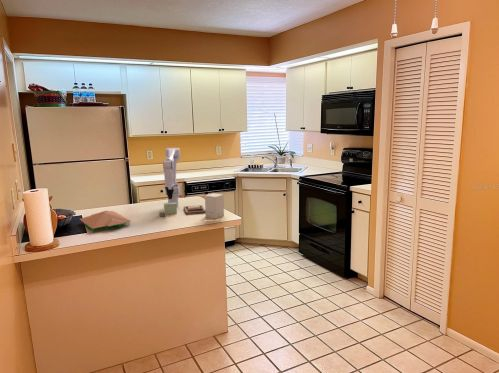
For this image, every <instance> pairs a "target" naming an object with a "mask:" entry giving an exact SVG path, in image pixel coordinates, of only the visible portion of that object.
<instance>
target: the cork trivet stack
mask: <svg viewBox="0 0 499 373" xmlns="http://www.w3.org/2000/svg"><path fill="white" fill-rule="evenodd" d="M190 206H191V207H187V209H196V208H201V207H200V206H198V205H190Z"/></svg>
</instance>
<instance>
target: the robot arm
mask: <svg viewBox="0 0 499 373" xmlns="http://www.w3.org/2000/svg"><path fill="white" fill-rule="evenodd" d="M180 156H181V150H180V147H166V148H165V159H164V160H163V161H162V168H163V173H164V189H165V190H164V192H165V195H166V196H167V203H174V202H176V205H177V208H178V207H179V195H181V194H180V193H181V186H180V184H179V183H178V182H177V164H178V161H180V159H181V157H180Z"/></svg>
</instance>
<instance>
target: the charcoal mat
mask: <svg viewBox="0 0 499 373" xmlns="http://www.w3.org/2000/svg"><path fill="white" fill-rule="evenodd" d="M158 213H159V217H160V218H164V217H166V214H164V211H162V212H161V211H160V212H158Z"/></svg>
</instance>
